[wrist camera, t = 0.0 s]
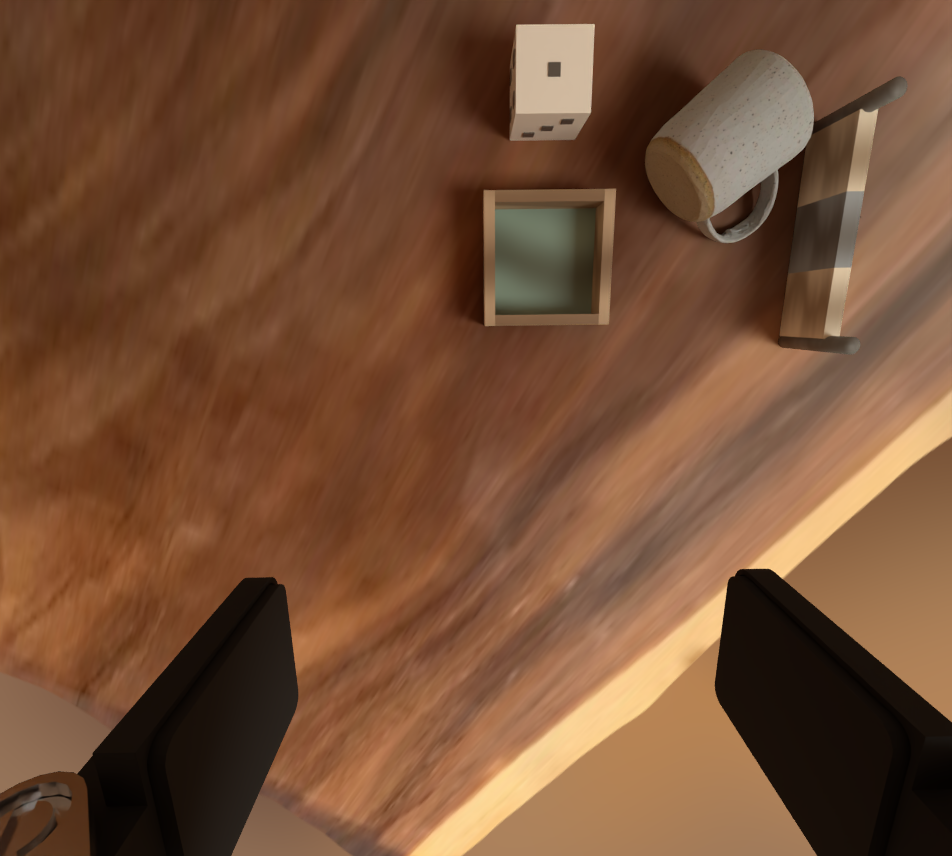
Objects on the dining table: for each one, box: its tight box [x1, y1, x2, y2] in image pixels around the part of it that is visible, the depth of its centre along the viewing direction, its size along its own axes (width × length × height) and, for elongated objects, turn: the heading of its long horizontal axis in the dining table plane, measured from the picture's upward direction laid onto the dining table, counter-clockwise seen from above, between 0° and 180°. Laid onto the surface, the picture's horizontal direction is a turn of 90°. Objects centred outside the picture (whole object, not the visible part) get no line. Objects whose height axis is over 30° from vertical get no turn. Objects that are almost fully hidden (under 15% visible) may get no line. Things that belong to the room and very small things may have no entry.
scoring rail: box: [778, 77, 907, 354], centre depth 34 cm, size 17×1×7 cm, turn 1°
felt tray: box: [483, 189, 616, 326], centre depth 36 cm, size 10×10×3 cm
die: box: [510, 24, 595, 140], centre depth 32 cm, size 5×5×5 cm
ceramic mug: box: [645, 50, 814, 243], centre depth 33 cm, size 11×8×8 cm
